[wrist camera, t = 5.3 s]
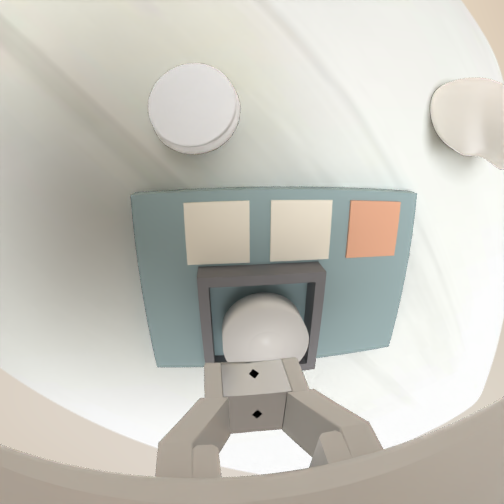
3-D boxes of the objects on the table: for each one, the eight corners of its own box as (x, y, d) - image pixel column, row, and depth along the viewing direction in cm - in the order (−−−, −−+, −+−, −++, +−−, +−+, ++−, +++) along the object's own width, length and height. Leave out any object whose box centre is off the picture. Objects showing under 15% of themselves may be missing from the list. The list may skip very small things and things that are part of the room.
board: (159, 358, 26) (154, 382, 23) (134, 192, 21) (122, 200, 18) (383, 339, 28) (397, 358, 25) (409, 190, 23) (431, 198, 20)
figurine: (421, 151, 22) (532, 171, 11) (426, 70, 20) (531, 53, 9) (472, 167, 23) (569, 193, 12) (477, 95, 21) (572, 96, 10)
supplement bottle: (240, 144, 21) (254, 144, 13) (175, 159, 21) (150, 168, 13) (227, 81, 19) (233, 45, 11) (161, 96, 19) (130, 70, 11)
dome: (223, 348, 25) (225, 383, 21) (219, 284, 23) (220, 315, 19) (293, 343, 26) (306, 376, 22) (298, 280, 24) (314, 308, 20)
